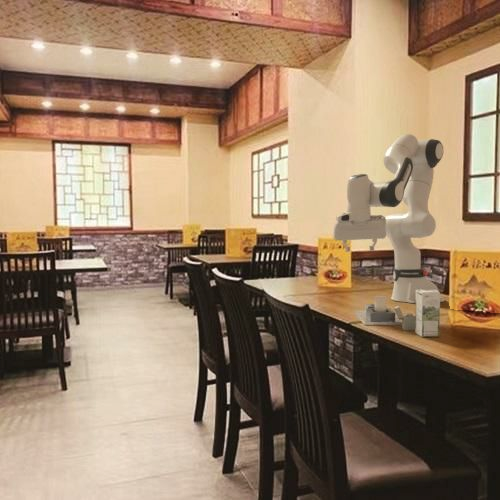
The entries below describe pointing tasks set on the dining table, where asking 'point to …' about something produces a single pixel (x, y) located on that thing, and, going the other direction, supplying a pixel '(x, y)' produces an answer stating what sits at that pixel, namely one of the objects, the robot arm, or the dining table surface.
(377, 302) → the white rounded cylinder
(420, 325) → the syrup box
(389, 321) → the fitting board
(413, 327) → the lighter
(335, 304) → the dining table surface
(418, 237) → the robot arm
